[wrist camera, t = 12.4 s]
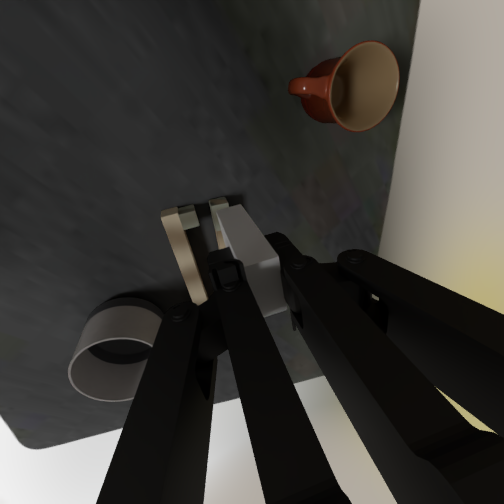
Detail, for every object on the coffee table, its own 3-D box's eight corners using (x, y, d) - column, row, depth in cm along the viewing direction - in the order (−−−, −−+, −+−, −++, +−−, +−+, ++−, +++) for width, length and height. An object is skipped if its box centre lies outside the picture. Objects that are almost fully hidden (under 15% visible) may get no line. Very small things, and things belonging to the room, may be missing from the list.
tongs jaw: (243, 306, 53) (247, 317, 50) (231, 310, 53) (234, 321, 50) (224, 196, 42) (228, 202, 40) (208, 199, 42) (211, 206, 39)
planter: (116, 359, 51) (104, 413, 42) (70, 313, 45) (45, 364, 36) (179, 330, 52) (181, 377, 43) (144, 280, 46) (137, 322, 37)
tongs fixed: (234, 316, 54) (240, 336, 49) (204, 325, 53) (207, 347, 48) (201, 200, 42) (205, 212, 37) (161, 210, 41) (160, 224, 36)
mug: (355, 59, 38) (410, 45, 30) (342, 128, 42) (387, 133, 34) (273, 49, 35) (308, 30, 27) (268, 124, 39) (296, 129, 31)
